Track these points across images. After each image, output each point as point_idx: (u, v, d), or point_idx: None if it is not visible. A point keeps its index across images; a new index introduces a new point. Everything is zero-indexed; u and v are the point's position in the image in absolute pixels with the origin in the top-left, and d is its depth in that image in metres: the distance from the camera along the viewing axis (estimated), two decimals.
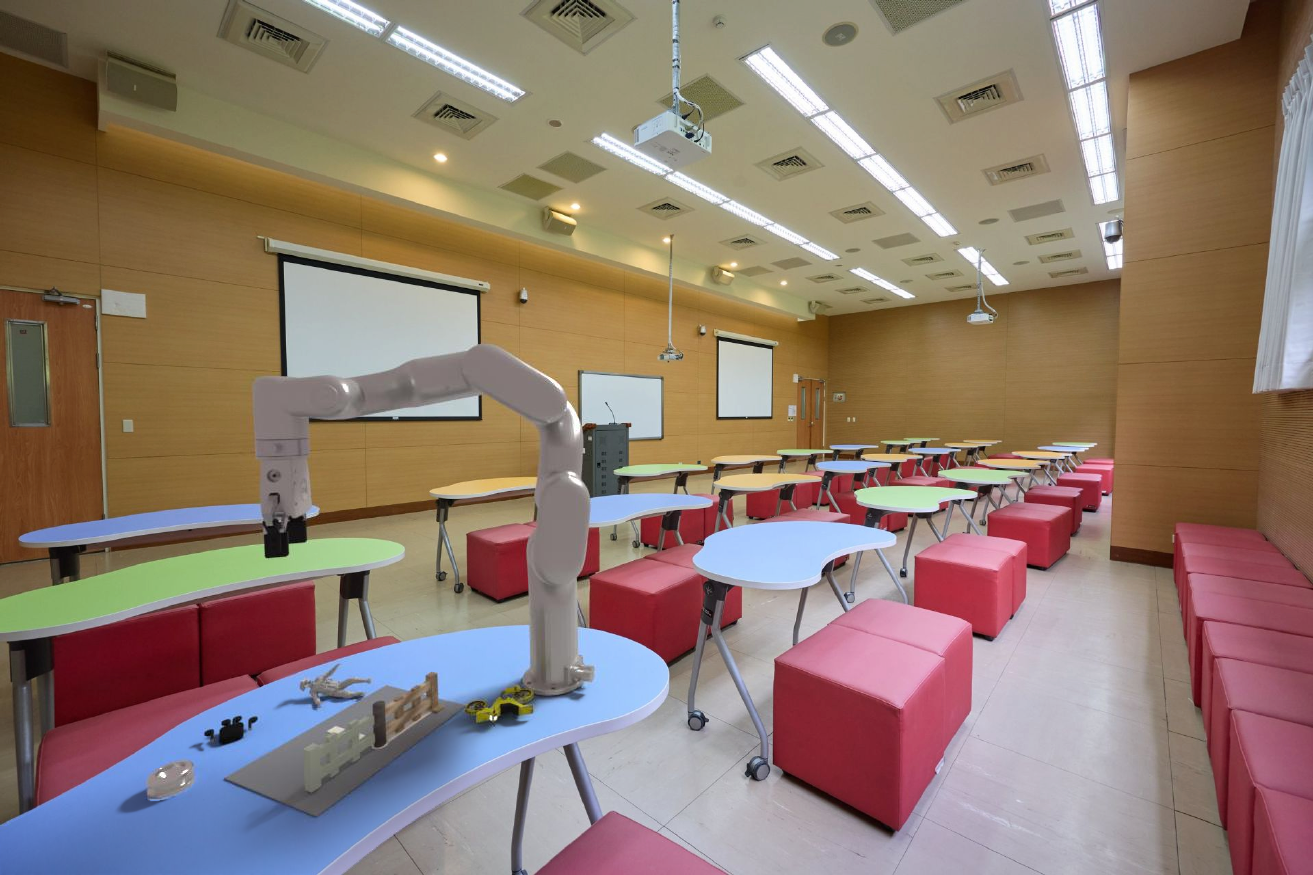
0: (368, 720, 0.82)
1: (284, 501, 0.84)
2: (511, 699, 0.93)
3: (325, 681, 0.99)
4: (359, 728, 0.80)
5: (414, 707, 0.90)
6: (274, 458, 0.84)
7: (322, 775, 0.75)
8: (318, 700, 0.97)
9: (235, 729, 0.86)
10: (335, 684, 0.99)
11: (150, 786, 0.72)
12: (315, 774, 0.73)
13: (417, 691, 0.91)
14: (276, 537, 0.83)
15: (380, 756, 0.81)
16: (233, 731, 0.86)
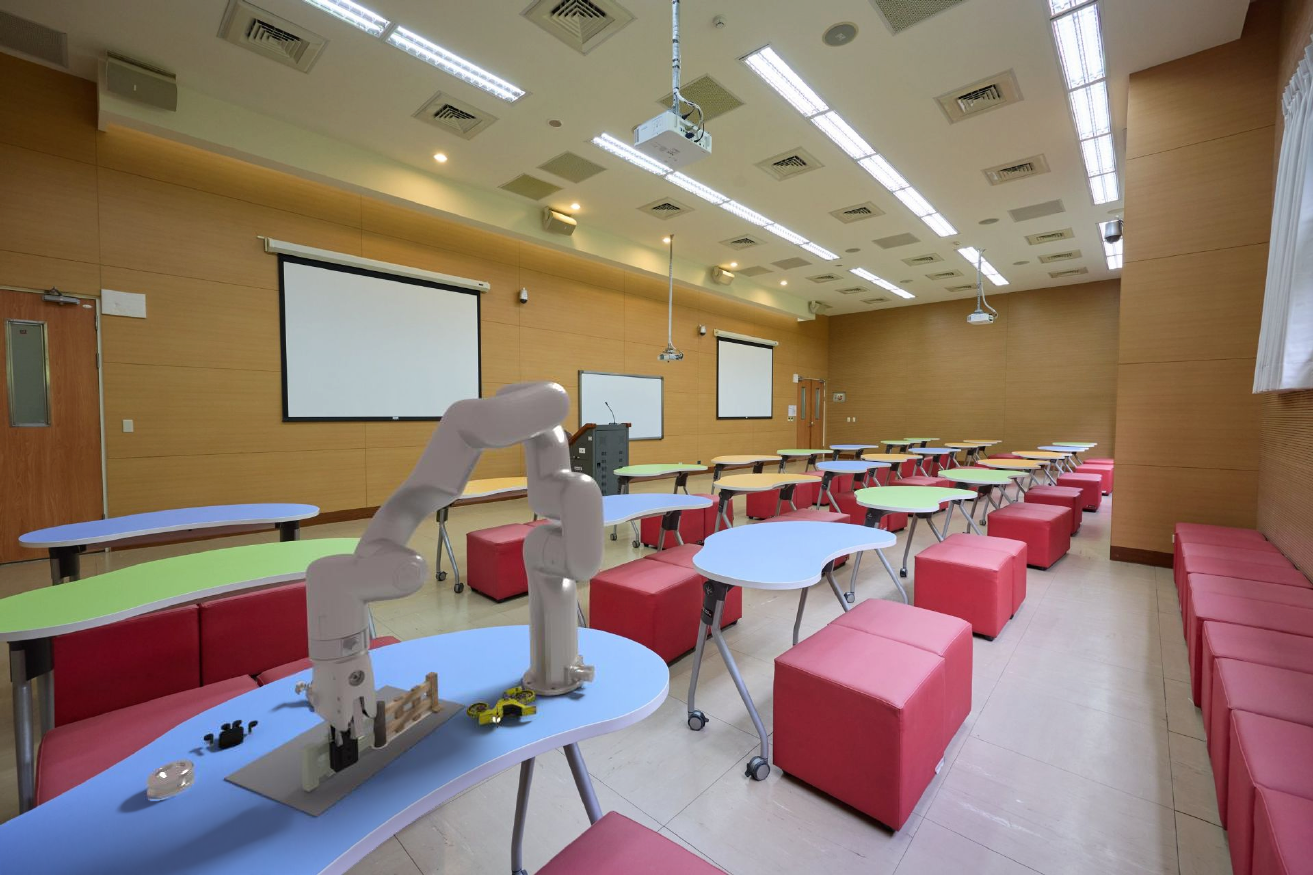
0: (367, 720, 0.82)
1: (369, 703, 0.73)
2: (513, 700, 0.93)
3: None
4: None
5: (414, 707, 0.90)
6: (351, 657, 0.72)
7: (320, 774, 0.75)
8: None
9: (235, 733, 0.85)
10: None
11: (150, 786, 0.72)
12: (312, 773, 0.74)
13: (417, 691, 0.91)
14: (350, 745, 0.75)
15: (380, 756, 0.81)
16: (233, 735, 0.85)
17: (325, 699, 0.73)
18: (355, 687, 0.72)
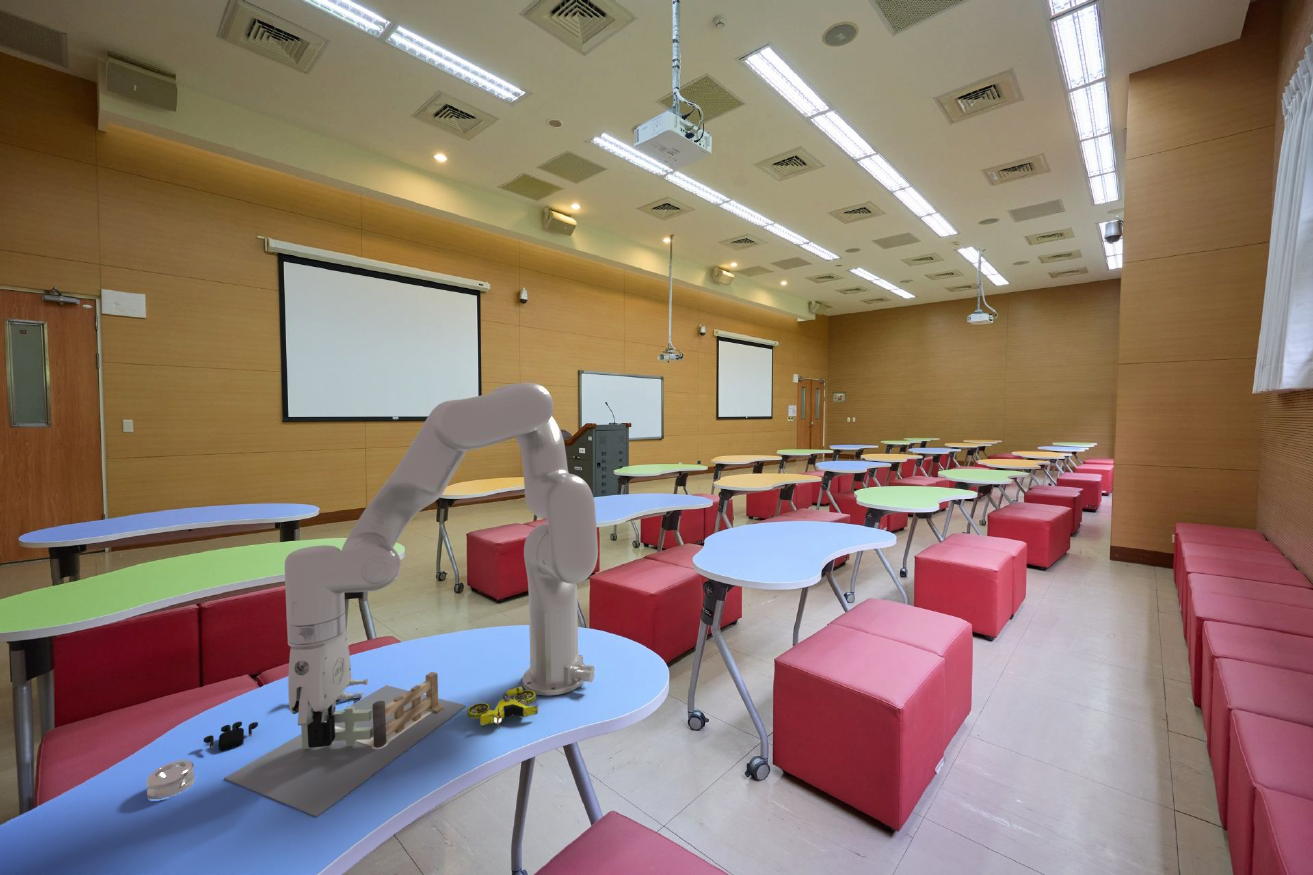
0: (362, 714, 0.83)
1: (312, 696, 0.75)
2: (514, 701, 0.92)
3: None
4: (352, 717, 0.83)
5: (414, 707, 0.90)
6: (303, 646, 0.76)
7: None
8: None
9: (235, 735, 0.85)
10: None
11: (150, 786, 0.72)
12: (305, 735, 0.83)
13: (417, 691, 0.91)
14: (318, 727, 0.79)
15: (380, 756, 0.81)
16: (233, 737, 0.84)
17: None
18: (299, 676, 0.75)
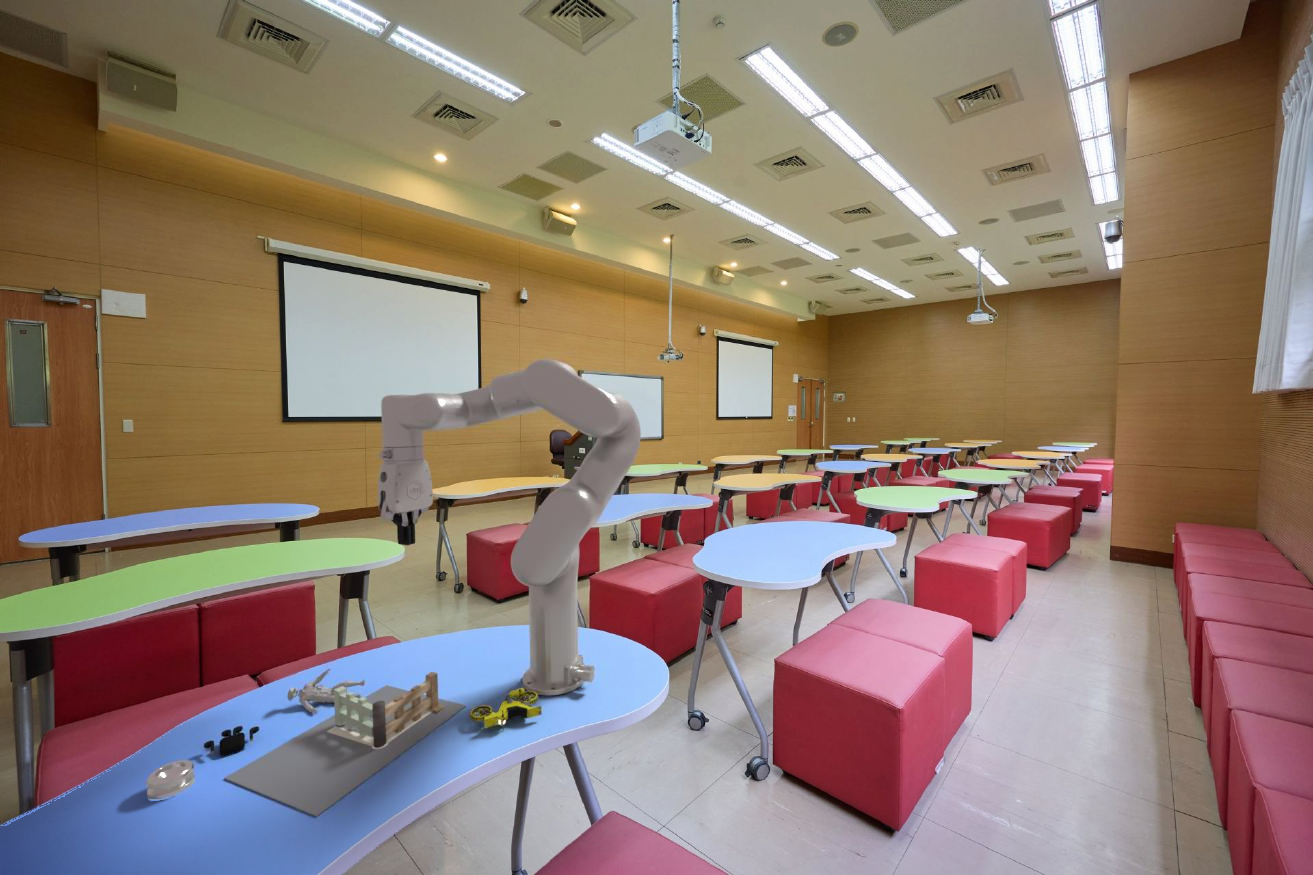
0: (367, 709, 0.85)
1: (387, 498, 1.01)
2: (517, 702, 0.92)
3: (315, 688, 0.97)
4: (362, 709, 0.85)
5: (414, 707, 0.90)
6: (387, 462, 1.03)
7: (342, 718, 0.89)
8: (312, 707, 0.94)
9: (236, 740, 0.83)
10: (327, 690, 0.97)
11: (150, 786, 0.72)
12: (336, 712, 0.89)
13: (417, 691, 0.91)
14: (401, 529, 1.05)
15: (380, 756, 0.81)
16: (234, 742, 0.83)
17: None
18: (382, 483, 1.02)
